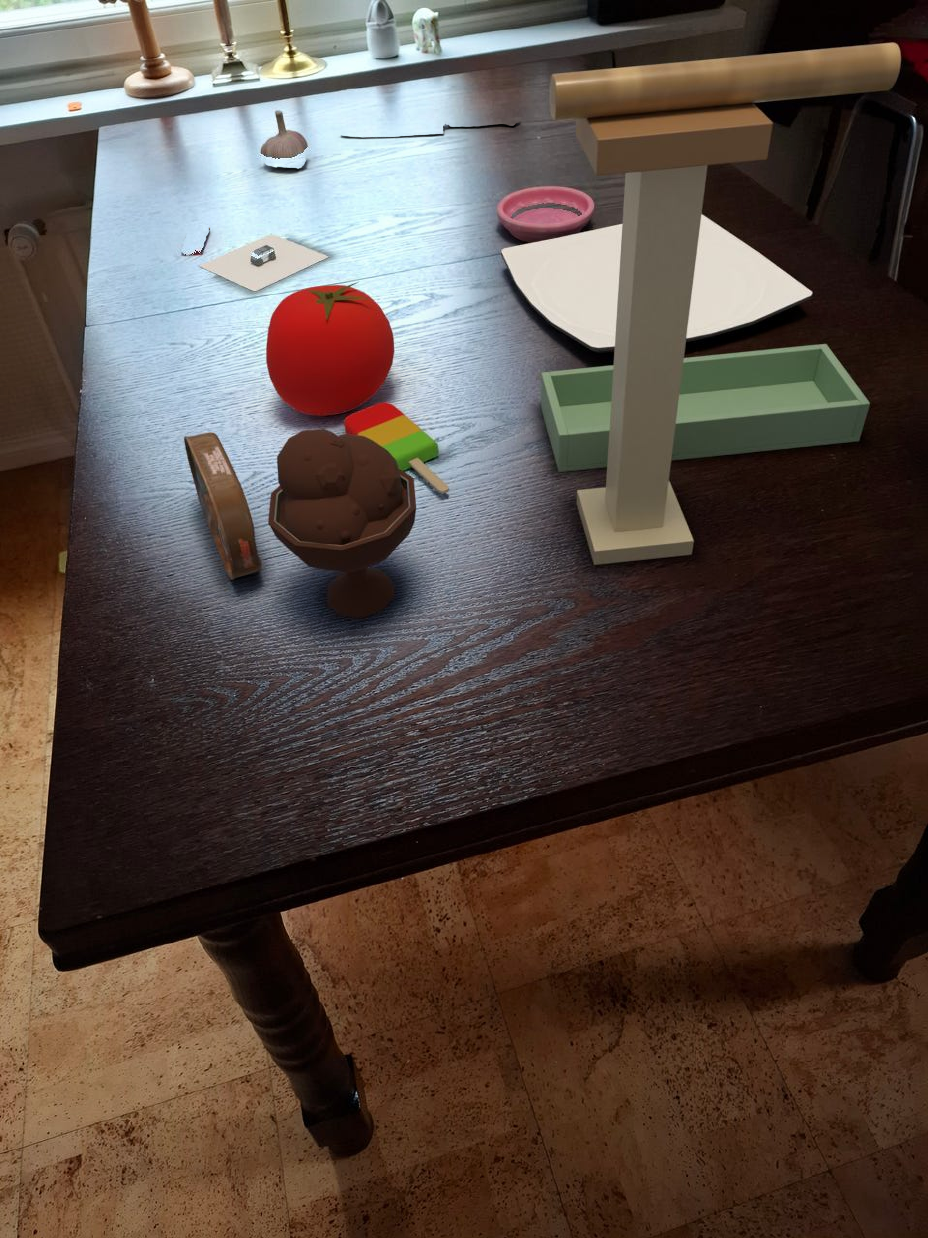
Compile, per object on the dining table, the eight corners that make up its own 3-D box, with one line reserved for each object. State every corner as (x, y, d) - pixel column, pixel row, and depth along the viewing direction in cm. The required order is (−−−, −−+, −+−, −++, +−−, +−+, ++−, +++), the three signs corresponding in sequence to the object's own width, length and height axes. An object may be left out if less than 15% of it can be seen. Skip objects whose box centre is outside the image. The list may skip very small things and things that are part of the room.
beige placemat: (198, 265, 118) (195, 254, 117) (271, 233, 124) (269, 222, 123) (254, 291, 112) (252, 279, 111) (329, 256, 118) (327, 244, 117)
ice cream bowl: (348, 665, 68) (311, 506, 57) (267, 591, 74) (220, 435, 63) (456, 595, 72) (441, 435, 62) (371, 531, 79) (344, 375, 68)
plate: (486, 268, 112) (485, 247, 111) (693, 222, 118) (695, 201, 116) (586, 381, 93) (587, 357, 91) (827, 320, 99) (833, 296, 97)
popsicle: (390, 413, 91) (388, 397, 90) (472, 487, 82) (471, 470, 81) (341, 433, 89) (338, 416, 88) (420, 511, 80) (418, 494, 79)
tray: (817, 380, 91) (826, 343, 88) (859, 441, 83) (870, 403, 81) (541, 408, 90) (541, 372, 87) (558, 472, 83) (559, 435, 80)
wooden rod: (878, 88, 55) (885, 42, 54) (897, 90, 53) (904, 42, 52) (549, 119, 55) (548, 73, 54) (556, 122, 53) (555, 74, 52)
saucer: (597, 246, 115) (598, 221, 113) (497, 251, 116) (497, 226, 113) (589, 206, 124) (590, 182, 121) (497, 211, 124) (496, 187, 122)
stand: (679, 493, 80) (734, 82, 57) (704, 553, 74) (776, 125, 51) (565, 504, 80) (574, 97, 57) (581, 566, 74) (599, 142, 51)
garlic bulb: (313, 171, 139) (303, 114, 133) (265, 178, 138) (253, 120, 133) (308, 154, 144) (298, 98, 139) (262, 161, 144) (250, 105, 138)
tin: (197, 498, 83) (170, 419, 77) (231, 488, 84) (207, 409, 78) (237, 601, 74) (210, 519, 68) (275, 589, 74) (252, 507, 68)
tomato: (247, 409, 93) (219, 303, 85) (343, 351, 100) (325, 248, 92) (331, 450, 87) (310, 340, 79) (427, 386, 94) (416, 279, 86)
